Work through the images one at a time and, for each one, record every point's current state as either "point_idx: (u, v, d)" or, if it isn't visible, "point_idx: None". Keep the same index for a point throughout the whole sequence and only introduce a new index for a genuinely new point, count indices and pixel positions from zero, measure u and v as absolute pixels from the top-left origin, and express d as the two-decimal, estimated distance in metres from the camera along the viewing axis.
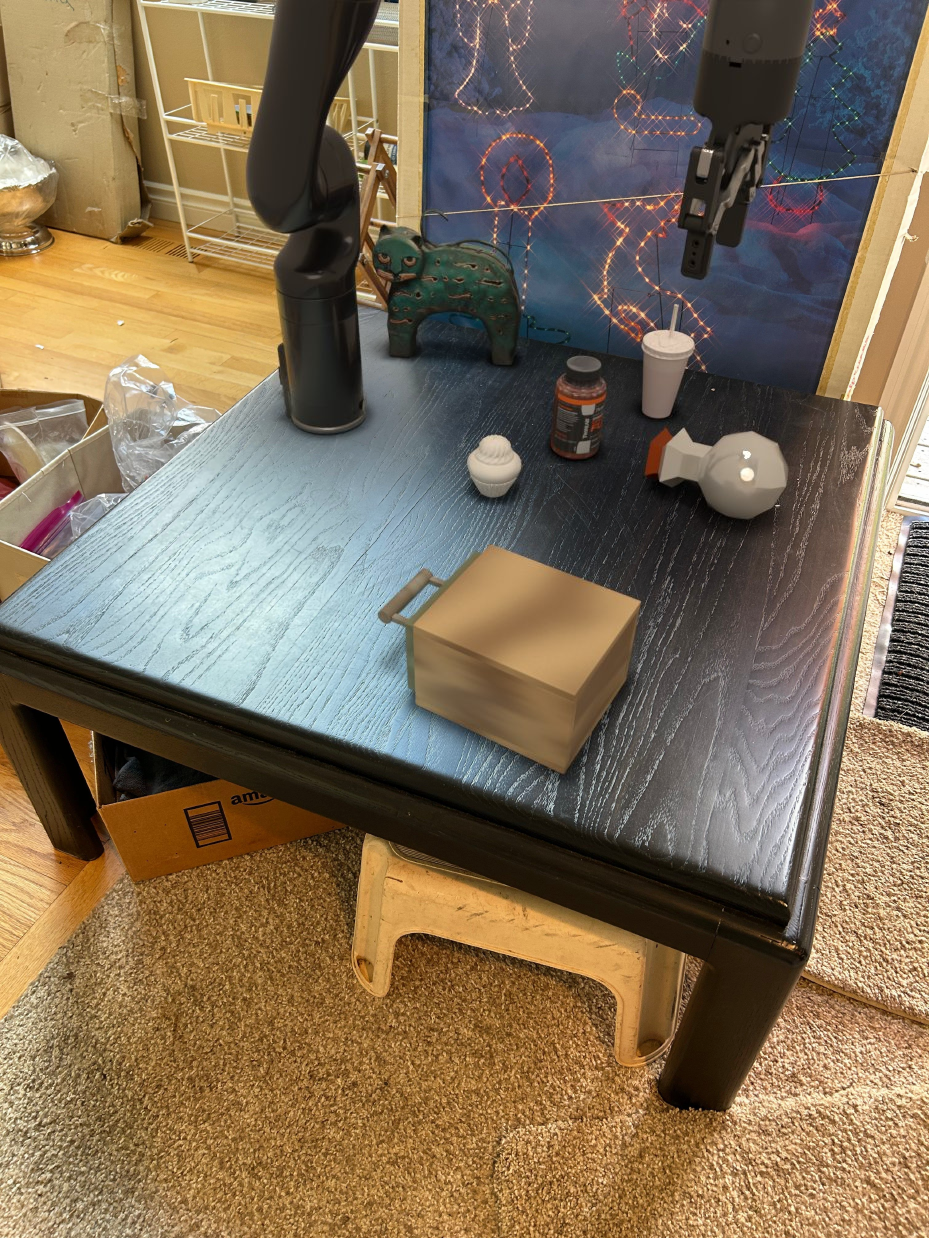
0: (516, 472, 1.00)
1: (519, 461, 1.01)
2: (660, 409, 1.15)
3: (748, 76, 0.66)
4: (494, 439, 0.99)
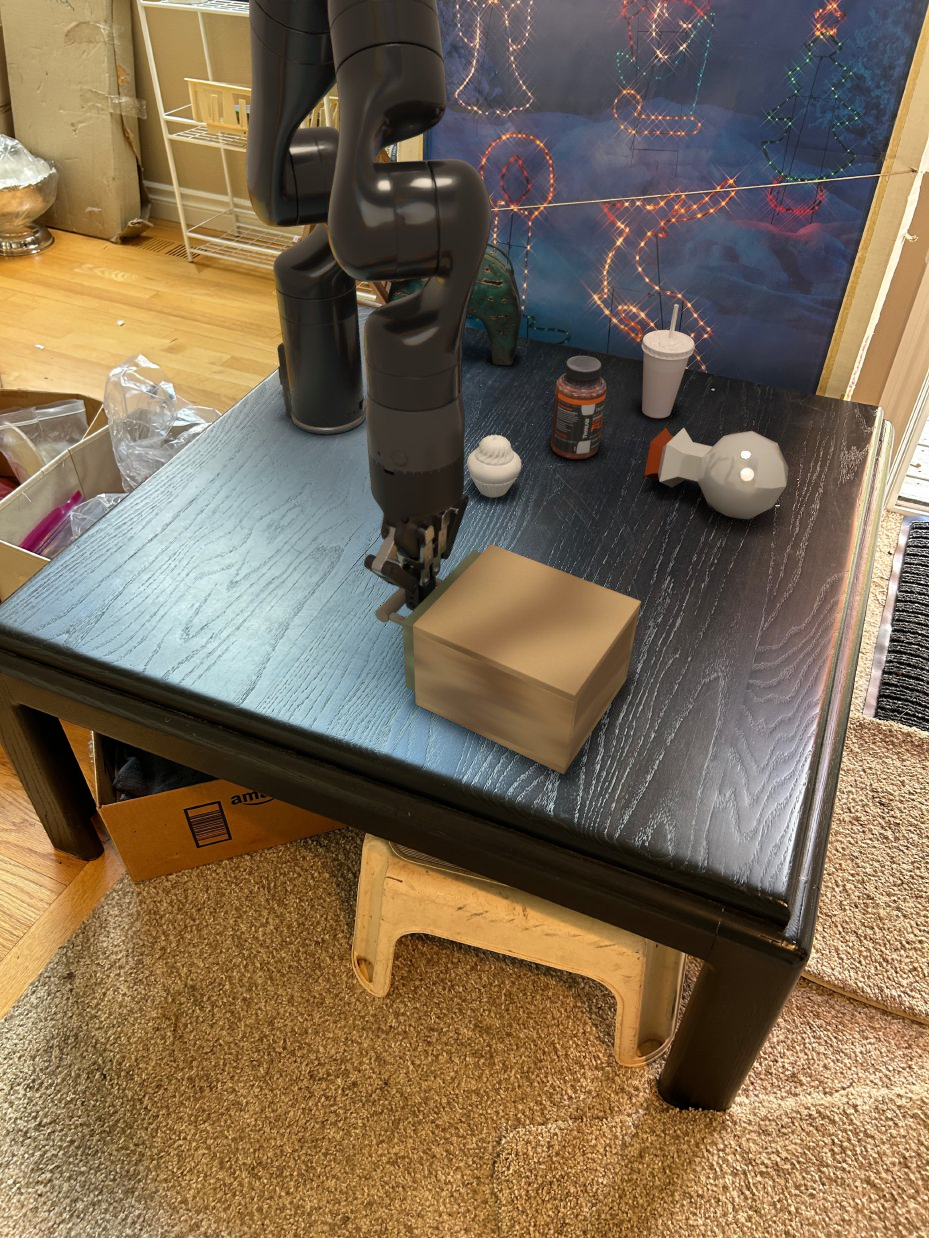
0: (516, 472, 1.00)
1: (519, 461, 1.01)
2: (660, 409, 1.15)
3: (403, 482, 0.68)
4: (494, 439, 0.99)
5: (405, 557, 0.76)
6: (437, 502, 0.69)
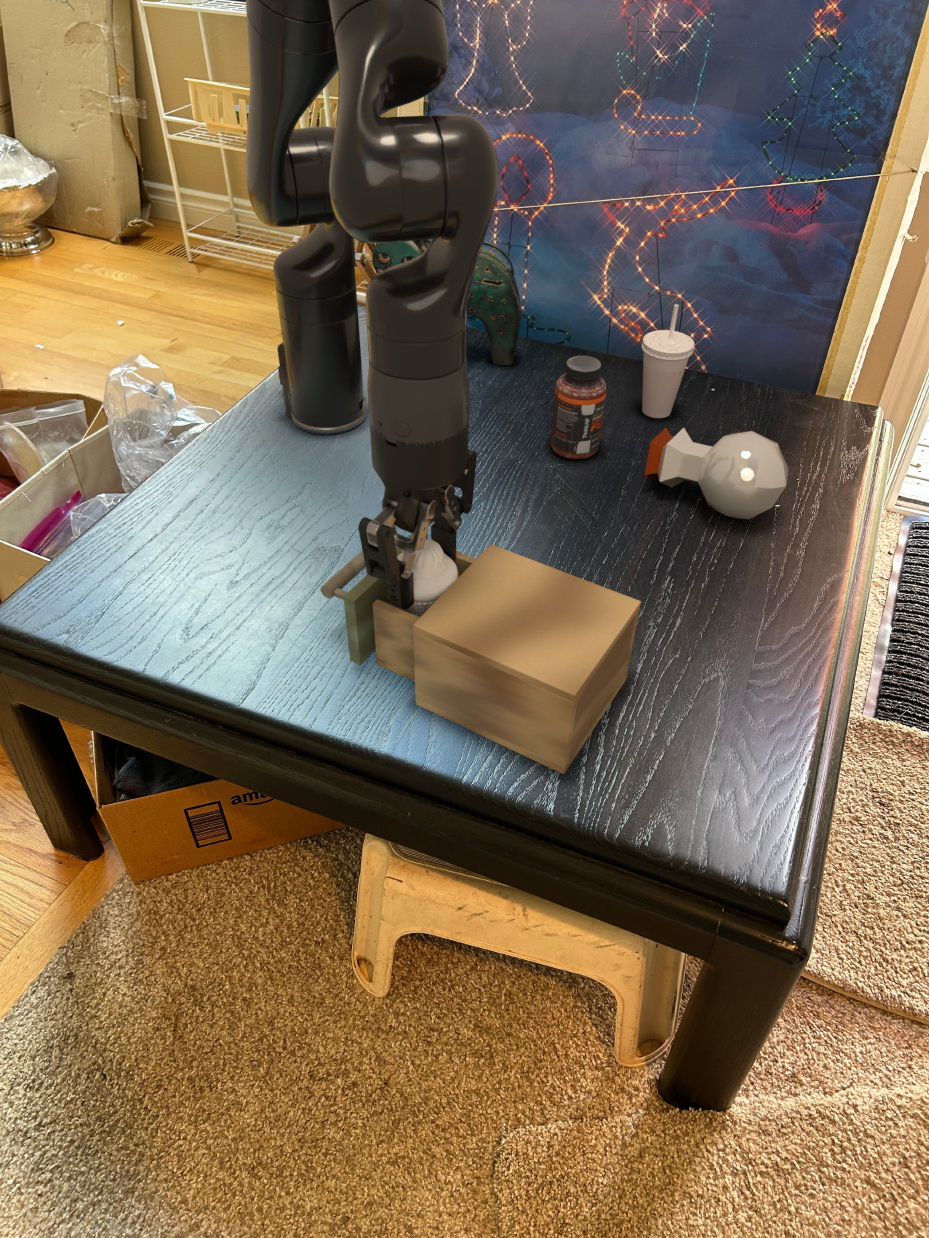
0: None
1: (455, 572, 0.78)
2: (660, 409, 1.15)
3: (405, 454, 0.66)
4: None
5: None
6: (440, 475, 0.68)
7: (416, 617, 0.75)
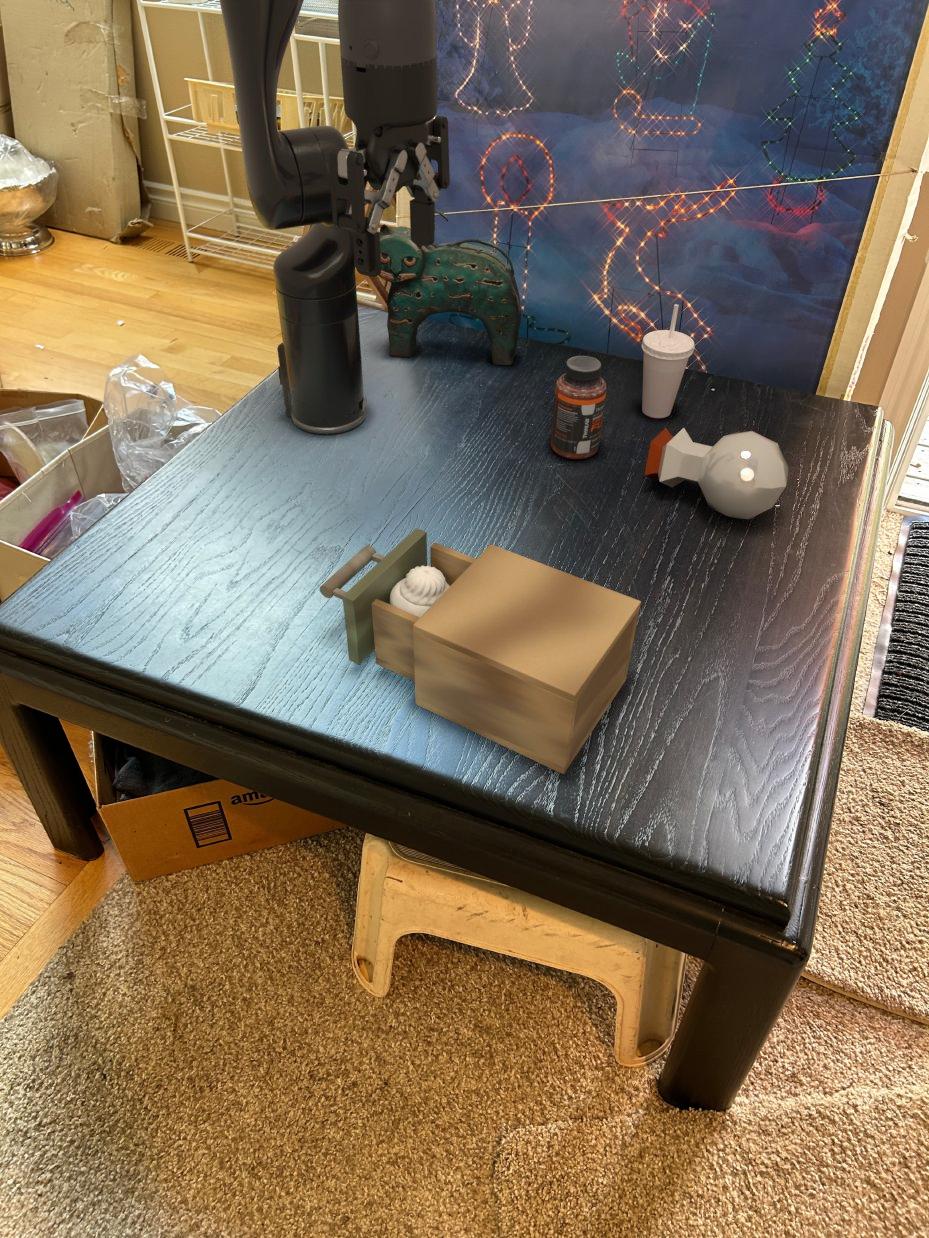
0: None
1: None
2: (660, 409, 1.15)
3: (375, 81, 0.69)
4: (425, 573, 0.79)
5: (364, 190, 0.75)
6: (409, 109, 0.70)
7: (415, 617, 0.75)
